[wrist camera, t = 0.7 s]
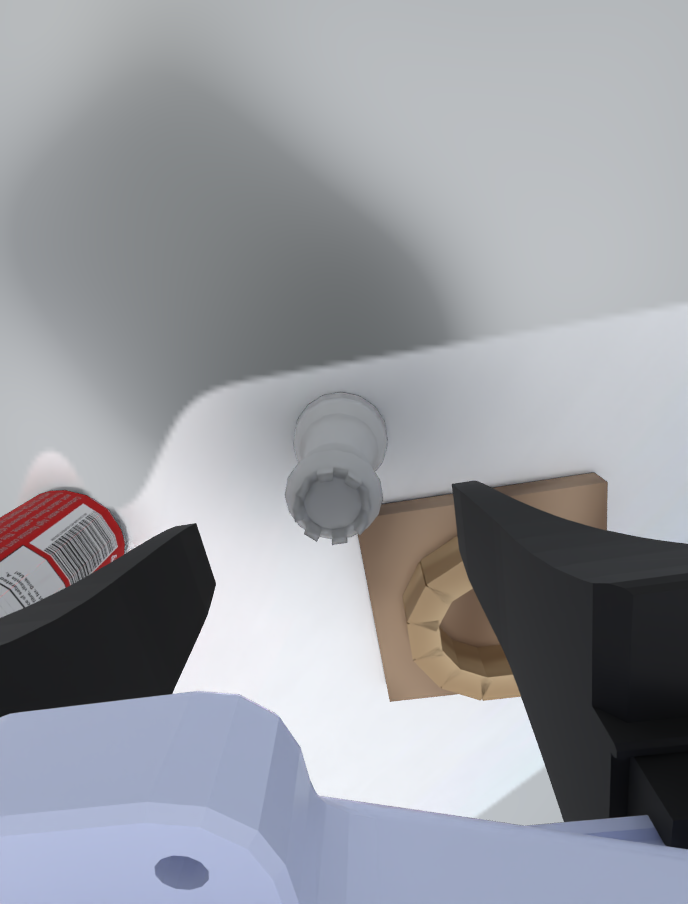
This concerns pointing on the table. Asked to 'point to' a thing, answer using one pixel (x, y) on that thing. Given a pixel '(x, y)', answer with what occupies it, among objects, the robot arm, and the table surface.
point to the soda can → (53, 546)
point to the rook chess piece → (337, 467)
